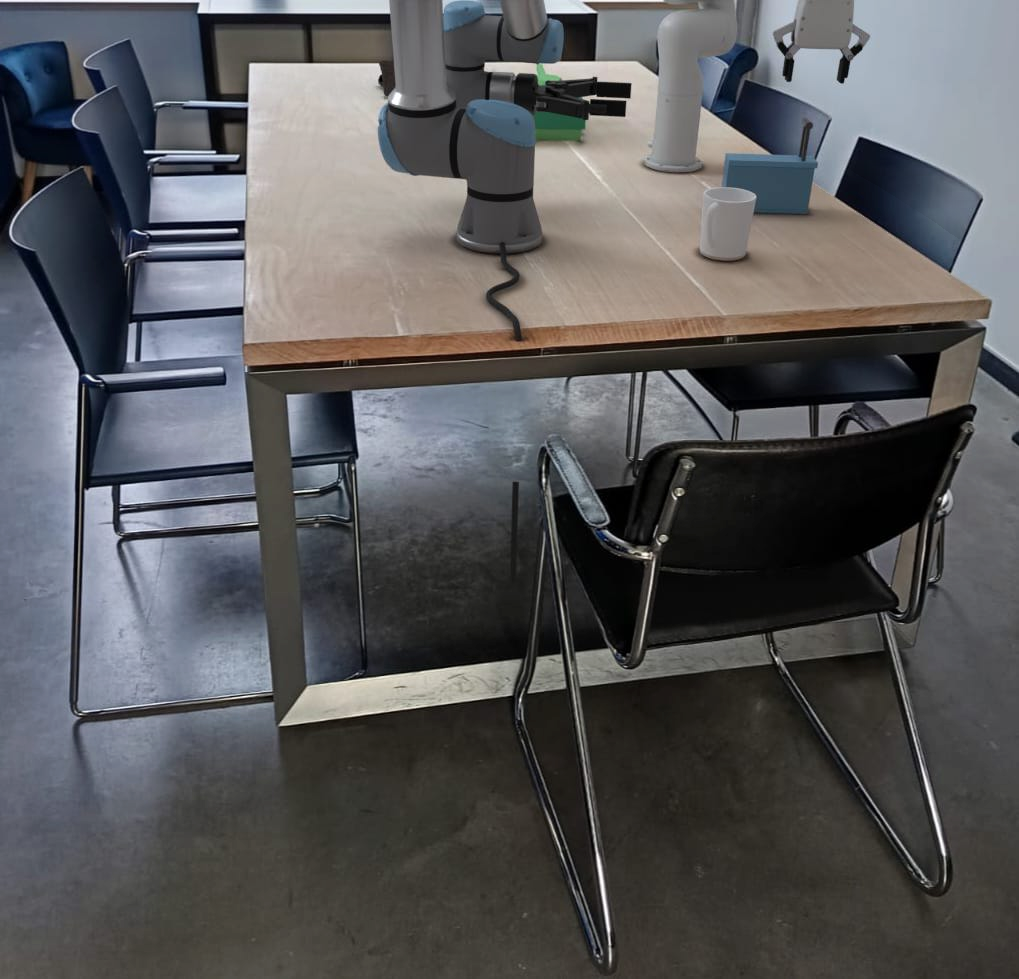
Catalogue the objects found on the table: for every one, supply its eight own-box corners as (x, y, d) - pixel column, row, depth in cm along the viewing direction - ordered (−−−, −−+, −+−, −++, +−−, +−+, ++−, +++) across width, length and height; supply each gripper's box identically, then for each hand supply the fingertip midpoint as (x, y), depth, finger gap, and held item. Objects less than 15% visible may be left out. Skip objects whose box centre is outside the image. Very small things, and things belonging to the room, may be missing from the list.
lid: (812, 161, 212) (819, 116, 208) (817, 168, 208) (824, 123, 204) (725, 158, 213) (730, 114, 208) (728, 165, 208) (734, 120, 204)
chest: (802, 206, 217) (809, 161, 212) (807, 214, 213) (814, 168, 208) (719, 203, 217) (724, 158, 213) (722, 211, 213) (728, 165, 208)
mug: (713, 241, 197) (720, 184, 192) (757, 252, 193) (765, 194, 187) (681, 256, 190) (687, 197, 185) (726, 268, 185) (733, 208, 180)
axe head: (443, 87, 294) (392, 77, 287) (436, 115, 299) (385, 106, 292) (421, 62, 307) (371, 52, 300) (414, 89, 311) (365, 80, 304)
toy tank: (572, 60, 278) (587, 89, 248) (570, 110, 284) (584, 145, 254) (503, 59, 277) (509, 88, 247) (502, 109, 283) (508, 143, 253)
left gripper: (524, 98, 218) (631, 103, 215) (504, 132, 197) (622, 138, 194) (525, 58, 214) (634, 63, 211) (504, 89, 193) (625, 94, 190)
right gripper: (873, -22, 196) (856, 78, 205) (777, -24, 197) (763, 76, 206) (884, -16, 190) (865, 87, 199) (784, -19, 190) (770, 84, 199)
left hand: (628, 99), depth 203 cm, fingers open, 13 cm apart
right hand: (813, 81), depth 202 cm, fingers open, 9 cm apart
